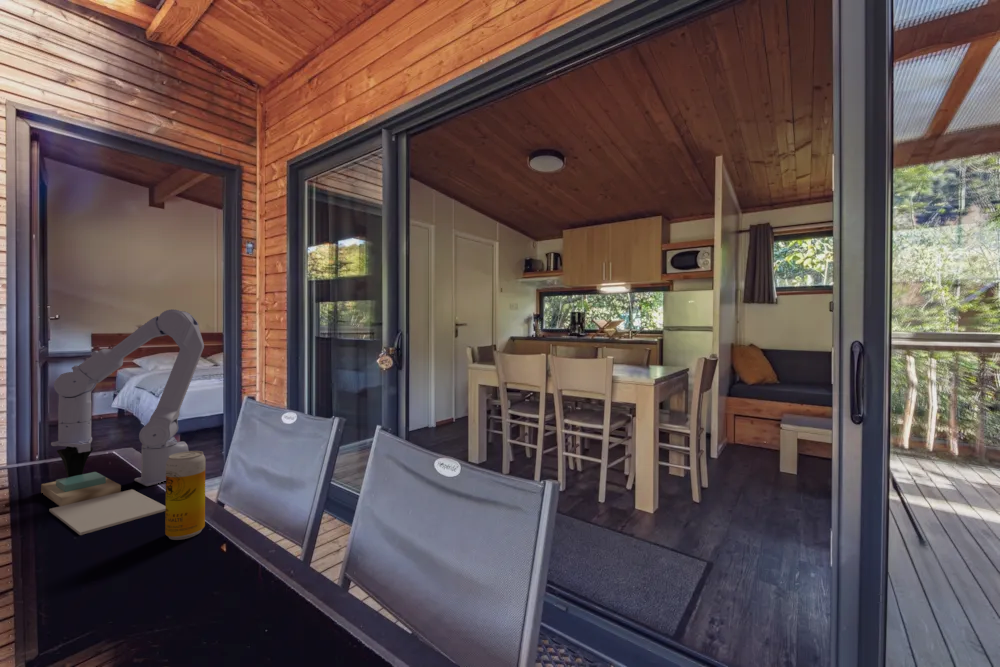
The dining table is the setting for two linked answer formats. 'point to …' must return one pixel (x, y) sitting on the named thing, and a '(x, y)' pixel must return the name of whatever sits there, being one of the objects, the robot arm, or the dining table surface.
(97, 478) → the tile
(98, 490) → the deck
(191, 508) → the beer can
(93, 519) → the mat
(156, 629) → the dining table surface
